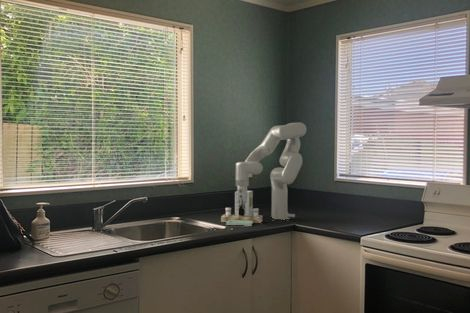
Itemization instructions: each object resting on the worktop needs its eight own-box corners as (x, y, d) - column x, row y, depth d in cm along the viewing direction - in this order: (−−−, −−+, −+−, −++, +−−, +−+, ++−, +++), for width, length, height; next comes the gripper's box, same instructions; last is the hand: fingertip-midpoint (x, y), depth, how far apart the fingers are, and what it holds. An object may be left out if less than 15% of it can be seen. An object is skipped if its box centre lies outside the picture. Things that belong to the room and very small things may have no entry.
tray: (253, 224, 269) (253, 220, 269) (251, 227, 260) (251, 223, 260) (228, 223, 271) (228, 220, 271) (226, 226, 262) (226, 222, 262)
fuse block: (262, 222, 277) (262, 215, 277) (261, 224, 269) (261, 217, 269) (223, 221, 280) (223, 214, 280) (221, 223, 272) (221, 216, 272)
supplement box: (249, 219, 286) (249, 192, 286) (234, 219, 289) (234, 191, 288) (253, 217, 296) (253, 190, 295) (238, 216, 298) (238, 190, 298)
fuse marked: (245, 221, 276) (245, 207, 276) (244, 222, 273) (244, 208, 273) (239, 221, 277) (239, 207, 276) (238, 222, 273) (238, 208, 273)
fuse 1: (231, 221, 277) (231, 207, 277) (230, 222, 274) (230, 208, 274) (225, 221, 278) (226, 207, 277) (225, 222, 274) (225, 208, 274)
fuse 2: (258, 222, 275) (258, 208, 275) (258, 222, 272) (258, 209, 272) (253, 221, 275) (253, 208, 275) (252, 222, 272) (252, 208, 272)
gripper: (246, 184, 265) (246, 217, 266) (250, 182, 282) (250, 212, 282) (233, 184, 266) (233, 216, 267) (237, 182, 283) (237, 212, 284)
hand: (241, 214), depth 275 cm, fingers open, 4 cm apart
